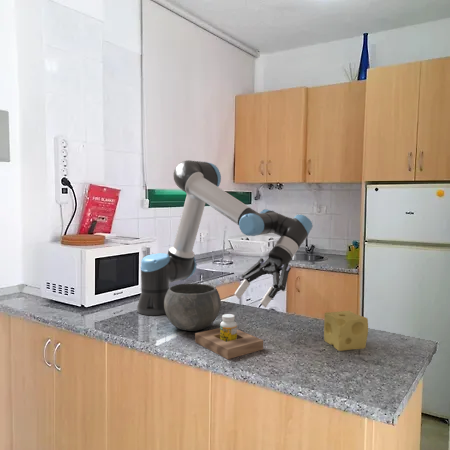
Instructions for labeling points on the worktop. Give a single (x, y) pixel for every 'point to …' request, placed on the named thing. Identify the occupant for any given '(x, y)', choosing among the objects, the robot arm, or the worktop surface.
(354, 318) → the cheese
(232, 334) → the supplement bottle
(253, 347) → the well board
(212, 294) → the bowl
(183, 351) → the worktop surface
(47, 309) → the worktop surface
